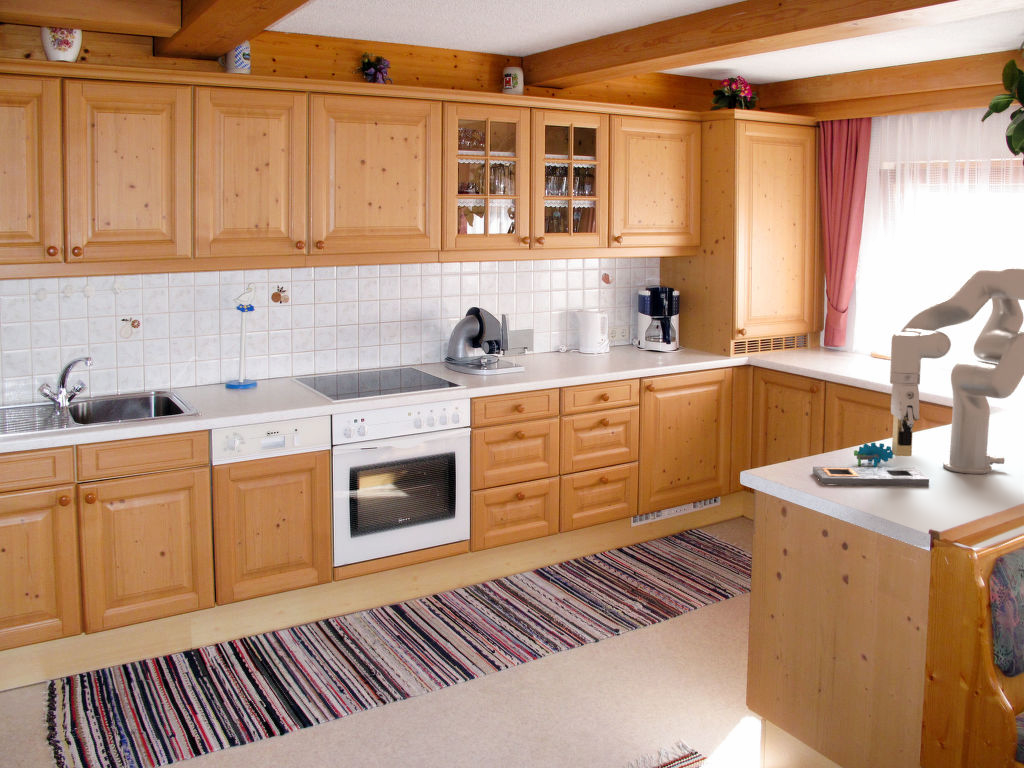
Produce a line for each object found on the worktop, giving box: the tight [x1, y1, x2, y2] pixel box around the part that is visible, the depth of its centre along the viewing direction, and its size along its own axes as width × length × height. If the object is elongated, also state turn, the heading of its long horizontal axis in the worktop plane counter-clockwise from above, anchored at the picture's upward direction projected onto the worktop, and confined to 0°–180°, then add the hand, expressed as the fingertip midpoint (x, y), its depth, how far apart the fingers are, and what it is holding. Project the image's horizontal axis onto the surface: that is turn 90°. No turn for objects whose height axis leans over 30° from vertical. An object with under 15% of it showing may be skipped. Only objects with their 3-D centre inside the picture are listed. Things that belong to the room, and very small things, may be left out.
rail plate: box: [812, 466, 930, 487], centre depth 257 cm, size 28×12×2 cm, turn 84°
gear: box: [853, 441, 895, 467], centre depth 271 cm, size 11×6×10 cm
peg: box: [891, 415, 914, 457], centre depth 254 cm, size 4×4×12 cm
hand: (902, 442), depth 255 cm, fingers closed on peg, 3 cm apart
